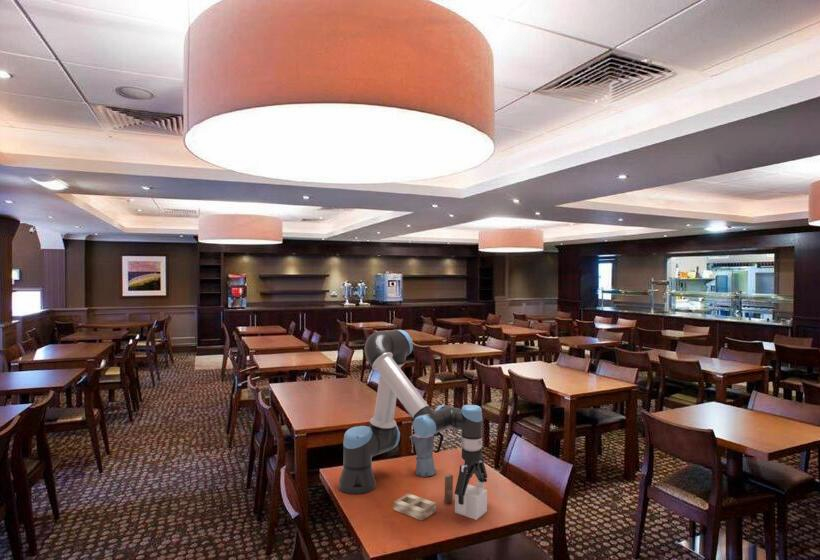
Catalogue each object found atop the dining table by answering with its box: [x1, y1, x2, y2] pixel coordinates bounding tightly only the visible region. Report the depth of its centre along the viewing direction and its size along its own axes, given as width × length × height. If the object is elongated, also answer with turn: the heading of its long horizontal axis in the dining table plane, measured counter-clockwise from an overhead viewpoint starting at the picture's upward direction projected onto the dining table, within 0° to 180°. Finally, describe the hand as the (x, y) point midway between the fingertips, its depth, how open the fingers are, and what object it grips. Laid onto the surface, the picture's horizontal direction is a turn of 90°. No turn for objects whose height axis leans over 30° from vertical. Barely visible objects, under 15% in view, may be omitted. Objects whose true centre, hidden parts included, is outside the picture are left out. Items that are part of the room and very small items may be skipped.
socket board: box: [393, 492, 437, 521], centre depth 179 cm, size 13×9×3 cm
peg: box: [444, 473, 454, 504], centre depth 187 cm, size 3×3×10 cm
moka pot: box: [409, 431, 444, 478], centre depth 214 cm, size 10×15×20 cm, turn 107°
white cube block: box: [454, 483, 488, 521], centre depth 179 cm, size 9×8×8 cm
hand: (471, 505), depth 178 cm, fingers open, 13 cm apart
